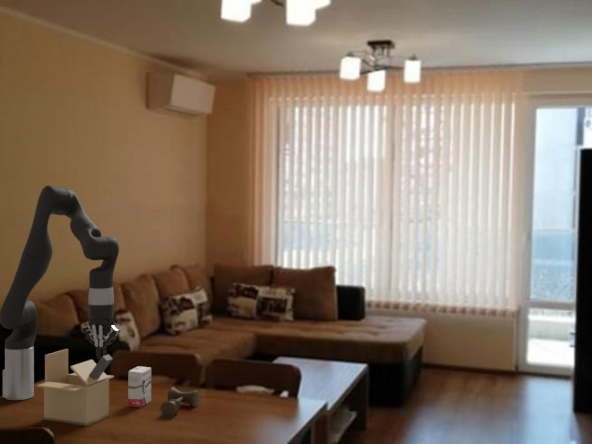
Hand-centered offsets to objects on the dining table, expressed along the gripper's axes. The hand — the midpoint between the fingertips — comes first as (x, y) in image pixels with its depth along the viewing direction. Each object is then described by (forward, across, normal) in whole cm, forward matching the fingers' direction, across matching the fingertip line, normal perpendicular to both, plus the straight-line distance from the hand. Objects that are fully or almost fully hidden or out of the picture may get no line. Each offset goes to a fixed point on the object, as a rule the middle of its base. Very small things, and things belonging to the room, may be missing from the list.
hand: (101, 358), depth 223 cm
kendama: (+20, +14, +22) cm, 33 cm away
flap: (+5, -5, 0) cm, 7 cm away
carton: (+20, -9, 0) cm, 22 cm away
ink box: (+20, 0, +21) cm, 29 cm away
